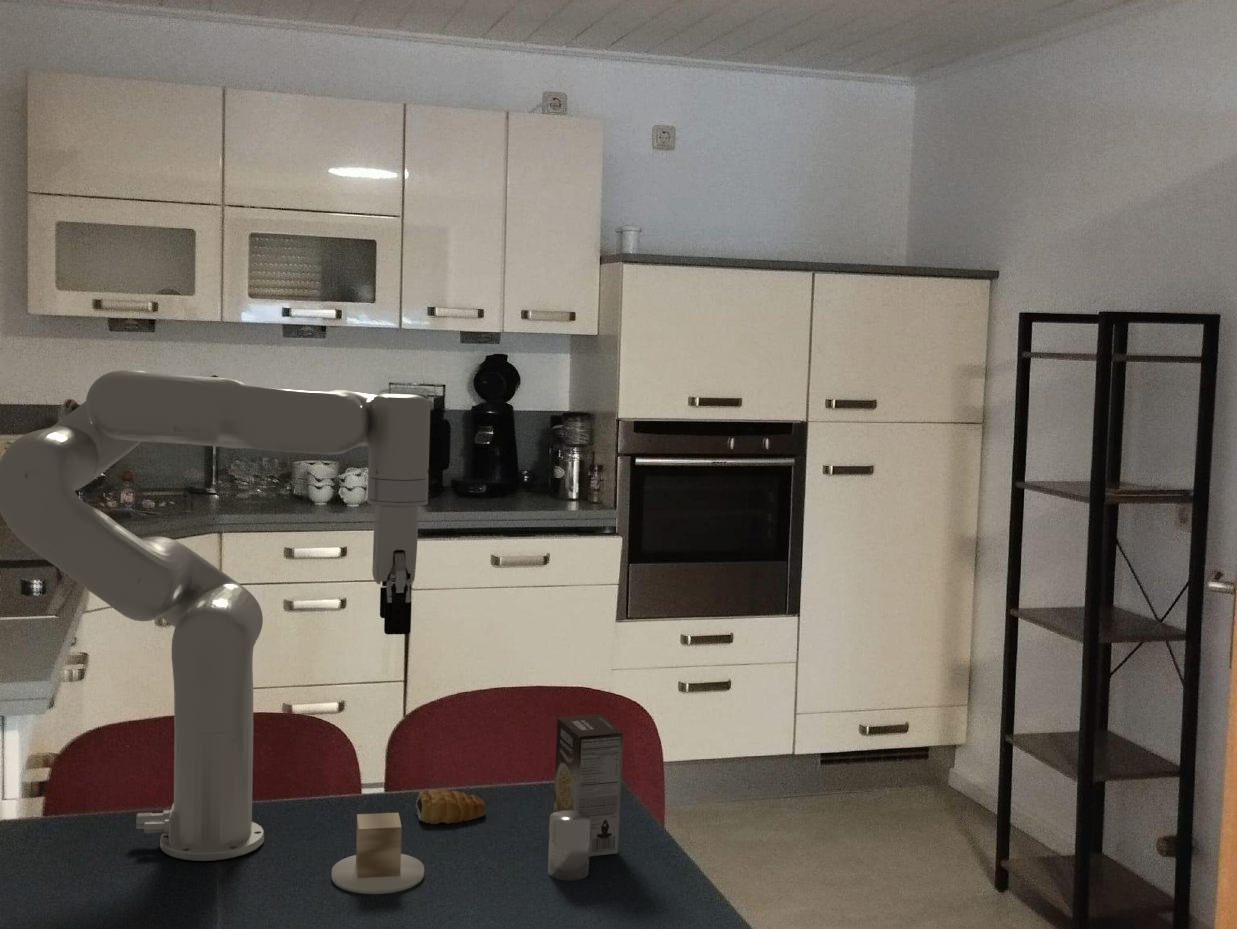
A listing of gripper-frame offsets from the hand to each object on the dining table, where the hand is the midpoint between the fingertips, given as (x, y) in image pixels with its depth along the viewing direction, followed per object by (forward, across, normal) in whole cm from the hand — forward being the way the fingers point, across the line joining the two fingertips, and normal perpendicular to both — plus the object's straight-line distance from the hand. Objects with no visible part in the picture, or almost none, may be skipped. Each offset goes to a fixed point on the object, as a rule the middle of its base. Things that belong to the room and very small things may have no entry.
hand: (394, 625), depth 170 cm
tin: (+28, +13, +21) cm, 38 cm away
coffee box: (+28, +4, +25) cm, 38 cm away
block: (+28, +11, -2) cm, 30 cm away
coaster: (+28, +11, -2) cm, 30 cm away
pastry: (+29, -9, +8) cm, 31 cm away
